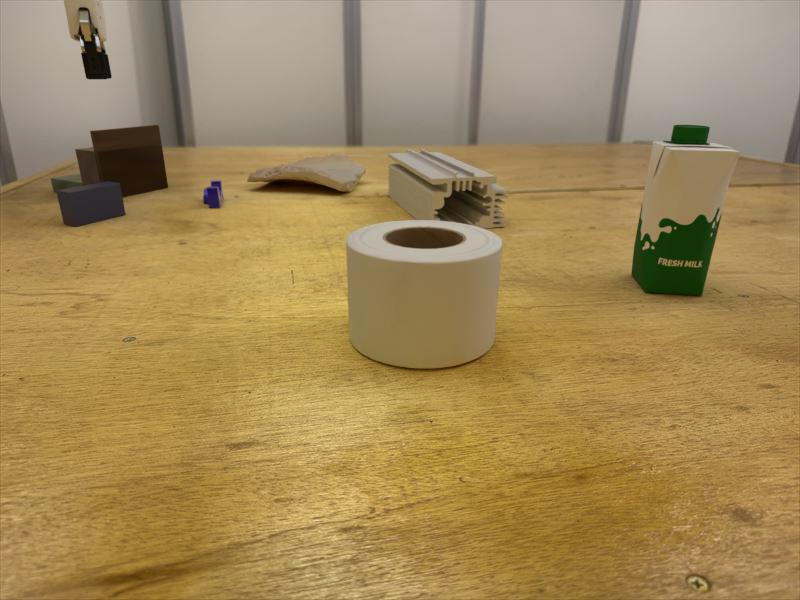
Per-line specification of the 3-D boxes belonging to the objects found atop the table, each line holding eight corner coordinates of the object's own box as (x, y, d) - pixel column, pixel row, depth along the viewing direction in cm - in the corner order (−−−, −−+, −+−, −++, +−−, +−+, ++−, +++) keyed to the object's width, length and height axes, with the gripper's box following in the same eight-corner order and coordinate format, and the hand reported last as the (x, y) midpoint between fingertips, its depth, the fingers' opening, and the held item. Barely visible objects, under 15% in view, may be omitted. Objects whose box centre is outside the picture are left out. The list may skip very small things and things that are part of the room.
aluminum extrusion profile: (448, 192, 126) (450, 147, 122) (505, 227, 99) (510, 171, 95) (388, 195, 123) (388, 149, 119) (430, 232, 96) (432, 173, 92)
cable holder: (206, 199, 117) (204, 180, 115) (223, 199, 118) (221, 180, 116) (201, 208, 110) (198, 188, 108) (219, 207, 110) (217, 187, 109)
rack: (53, 191, 123) (38, 126, 117) (116, 180, 136) (105, 120, 130) (106, 200, 115) (92, 131, 110) (168, 187, 128) (158, 124, 123)
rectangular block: (63, 224, 98) (55, 190, 95) (113, 212, 106) (107, 181, 104) (76, 226, 96) (68, 192, 94) (125, 214, 104) (120, 183, 102)
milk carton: (687, 275, 77) (722, 125, 69) (712, 299, 68) (754, 132, 61) (622, 271, 78) (648, 123, 70) (639, 295, 69) (671, 130, 62)
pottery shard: (281, 178, 144) (243, 185, 125) (282, 149, 142) (243, 152, 123) (370, 187, 139) (344, 196, 120) (372, 157, 137) (346, 161, 118)
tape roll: (349, 306, 65) (347, 217, 61) (478, 304, 66) (484, 216, 62) (347, 372, 51) (344, 262, 47) (510, 368, 52) (522, 260, 48)
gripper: (58, -30, 94) (80, 78, 101) (41, -48, 80) (68, 79, 86) (107, -27, 97) (125, 78, 104) (99, -44, 82) (121, 79, 89)
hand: (99, 78), depth 95 cm, fingers open, 9 cm apart
